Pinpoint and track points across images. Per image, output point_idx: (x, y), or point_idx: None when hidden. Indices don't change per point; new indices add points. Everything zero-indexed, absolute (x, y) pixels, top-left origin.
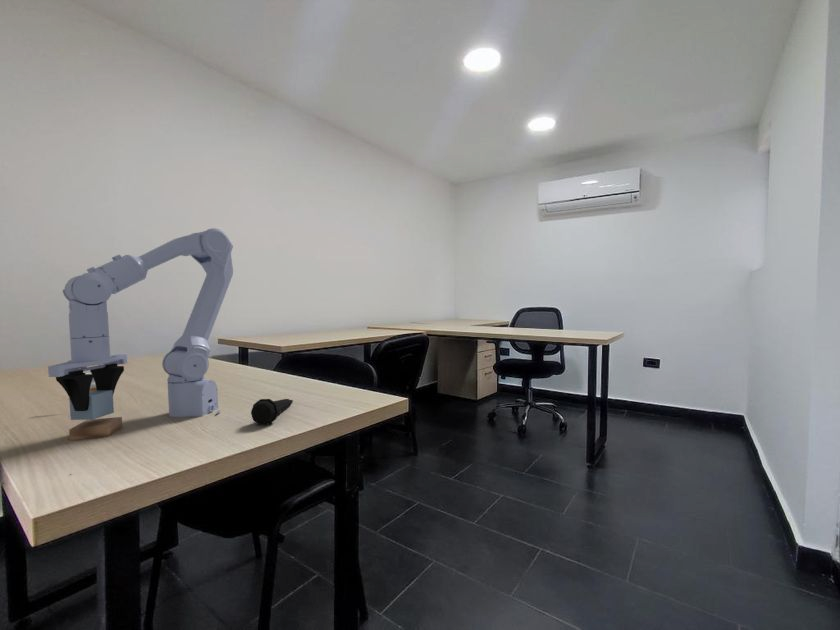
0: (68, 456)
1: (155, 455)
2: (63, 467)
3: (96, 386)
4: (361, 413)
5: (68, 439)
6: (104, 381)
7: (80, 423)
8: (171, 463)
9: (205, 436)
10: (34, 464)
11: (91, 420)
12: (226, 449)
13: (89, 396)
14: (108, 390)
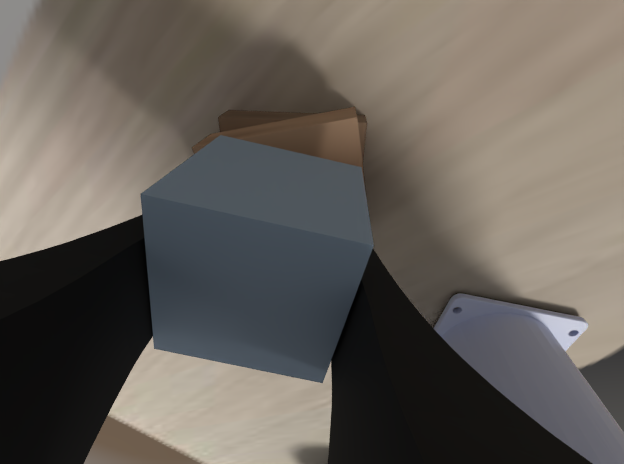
0: (145, 182)
1: (170, 367)
2: (74, 226)
3: (369, 311)
4: None
5: (221, 118)
6: (344, 415)
7: (293, 130)
8: (136, 398)
9: (283, 410)
10: (70, 117)
11: (342, 154)
12: (204, 444)
13: (153, 337)
14: (322, 365)
